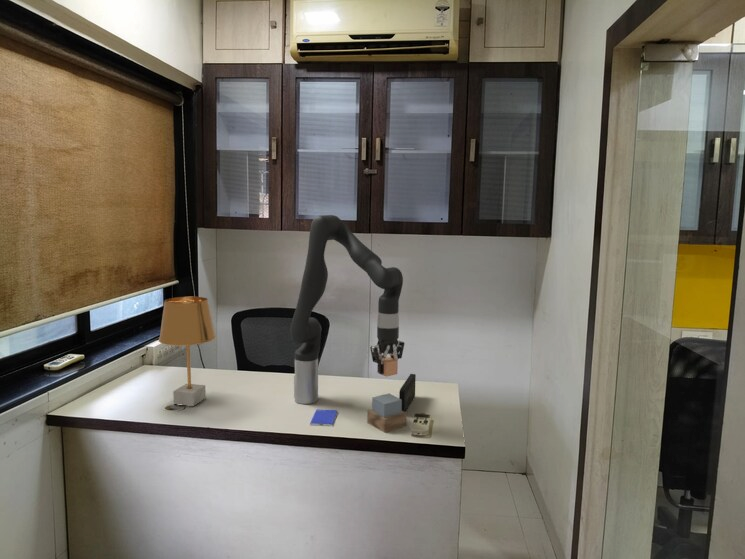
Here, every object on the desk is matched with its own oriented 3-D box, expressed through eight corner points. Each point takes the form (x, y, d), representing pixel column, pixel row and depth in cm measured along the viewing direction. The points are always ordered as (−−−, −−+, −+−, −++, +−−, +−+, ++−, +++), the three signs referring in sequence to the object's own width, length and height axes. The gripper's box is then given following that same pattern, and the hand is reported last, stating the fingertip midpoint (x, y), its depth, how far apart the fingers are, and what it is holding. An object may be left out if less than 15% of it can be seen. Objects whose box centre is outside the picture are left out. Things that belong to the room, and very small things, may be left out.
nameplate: (403, 416, 191) (404, 390, 190) (398, 415, 192) (399, 390, 191) (415, 397, 211) (415, 373, 210) (410, 396, 212) (411, 373, 211)
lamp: (181, 390, 215) (177, 294, 209) (227, 394, 210) (224, 296, 205) (149, 409, 194) (145, 303, 189) (200, 414, 190) (196, 306, 185)
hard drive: (316, 409, 194) (309, 422, 182) (337, 409, 194) (332, 423, 182) (316, 413, 195) (309, 426, 182) (337, 413, 194) (332, 427, 182)
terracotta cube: (377, 372, 181) (377, 359, 181) (388, 370, 185) (388, 356, 184) (386, 376, 178) (386, 362, 177) (397, 374, 181) (397, 360, 180)
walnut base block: (367, 423, 185) (367, 410, 184) (388, 417, 191) (388, 404, 190) (384, 433, 177) (384, 419, 176) (406, 426, 183) (406, 413, 182)
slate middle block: (372, 410, 184) (372, 397, 183) (389, 406, 188) (389, 393, 188) (384, 417, 178) (384, 404, 177) (401, 413, 182) (401, 399, 181)
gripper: (396, 320, 186) (395, 366, 188) (365, 325, 177) (364, 373, 180) (410, 324, 180) (409, 371, 182) (378, 329, 171) (377, 379, 174)
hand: (387, 372), depth 181 cm, fingers closed on terracotta cube, 5 cm apart
